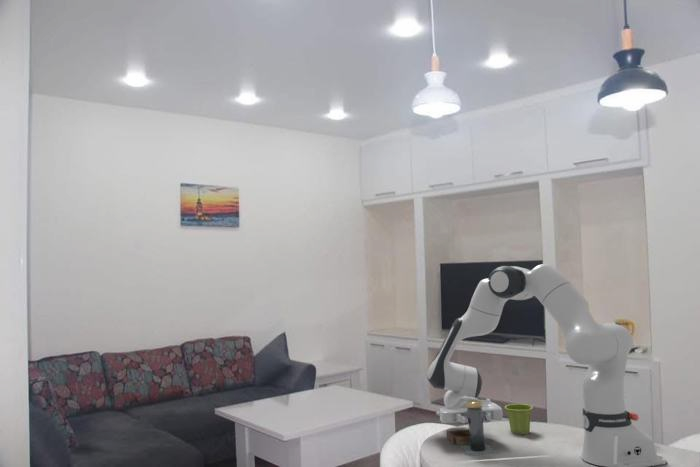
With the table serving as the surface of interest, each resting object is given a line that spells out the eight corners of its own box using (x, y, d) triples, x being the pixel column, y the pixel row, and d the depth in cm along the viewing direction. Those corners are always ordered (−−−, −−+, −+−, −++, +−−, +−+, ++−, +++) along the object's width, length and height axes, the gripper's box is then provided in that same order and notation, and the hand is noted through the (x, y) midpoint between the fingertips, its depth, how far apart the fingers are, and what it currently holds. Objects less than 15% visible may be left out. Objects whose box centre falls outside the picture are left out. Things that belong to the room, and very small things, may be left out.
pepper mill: (483, 446, 183) (479, 399, 184) (487, 450, 178) (483, 403, 179) (468, 447, 183) (464, 400, 184) (472, 452, 178) (468, 404, 179)
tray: (476, 436, 196) (475, 428, 196) (484, 444, 187) (483, 436, 187) (447, 438, 195) (446, 430, 195) (453, 446, 186) (453, 438, 186)
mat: (487, 445, 185) (487, 444, 185) (496, 454, 176) (496, 452, 176) (460, 447, 184) (460, 445, 184) (468, 456, 175) (468, 454, 176)
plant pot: (500, 432, 200) (499, 407, 200) (517, 427, 205) (515, 402, 206) (523, 438, 192) (521, 411, 193) (539, 432, 198) (538, 406, 199)
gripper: (434, 401, 193) (444, 411, 179) (493, 398, 195) (508, 407, 181) (435, 421, 193) (445, 432, 179) (494, 417, 194) (509, 428, 181)
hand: (477, 420), depth 180 cm, fingers open, 6 cm apart
